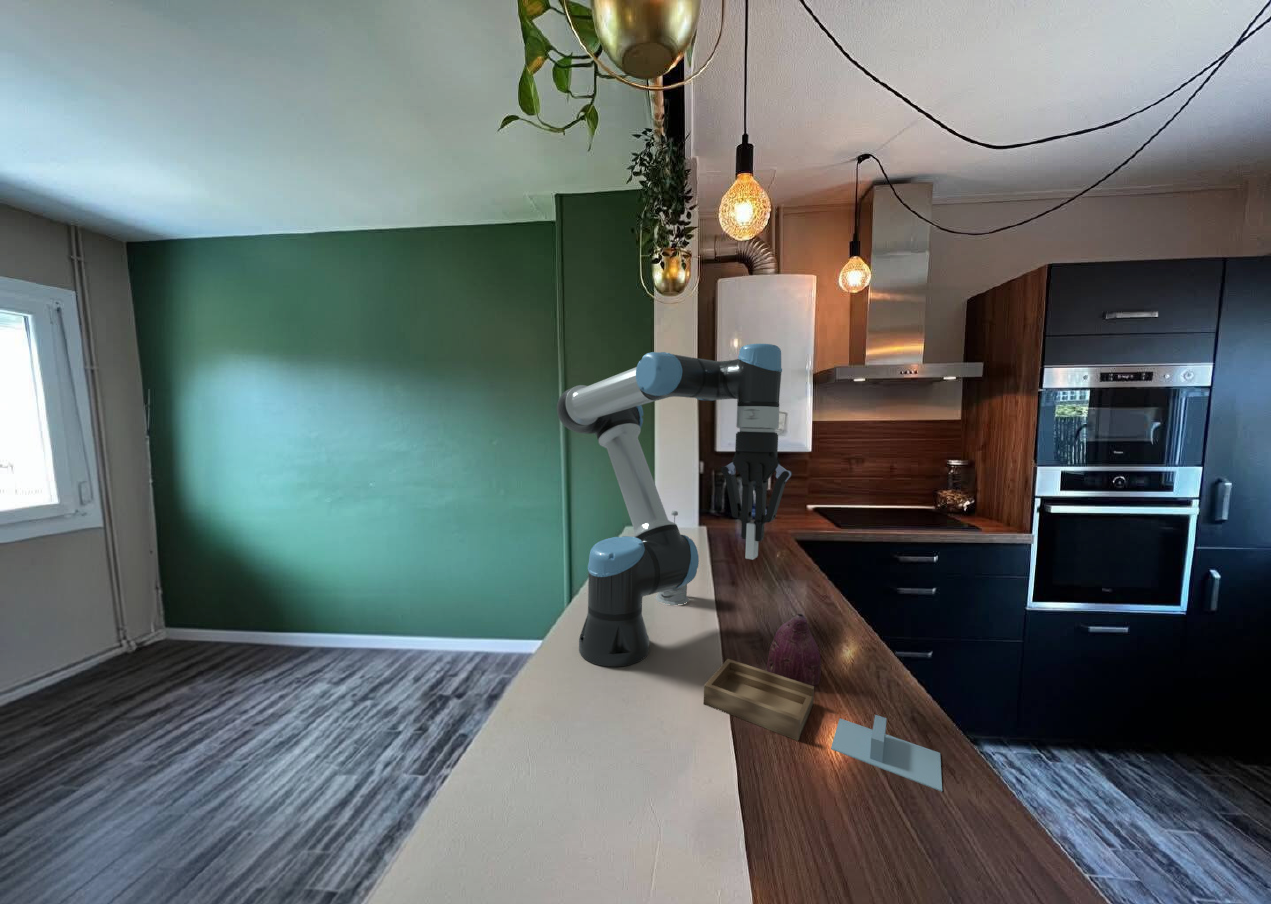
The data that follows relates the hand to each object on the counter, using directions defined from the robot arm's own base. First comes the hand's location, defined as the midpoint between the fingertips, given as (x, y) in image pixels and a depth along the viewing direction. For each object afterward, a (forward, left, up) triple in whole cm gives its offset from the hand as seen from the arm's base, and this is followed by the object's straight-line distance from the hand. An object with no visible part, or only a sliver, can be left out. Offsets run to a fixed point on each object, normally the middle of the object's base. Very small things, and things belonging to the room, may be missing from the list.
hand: (751, 557), depth 84 cm
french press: (-31, +29, -25) cm, 49 cm away
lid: (+24, -5, -25) cm, 35 cm away
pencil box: (+4, -5, -24) cm, 25 cm away
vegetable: (+6, +9, -25) cm, 27 cm away
